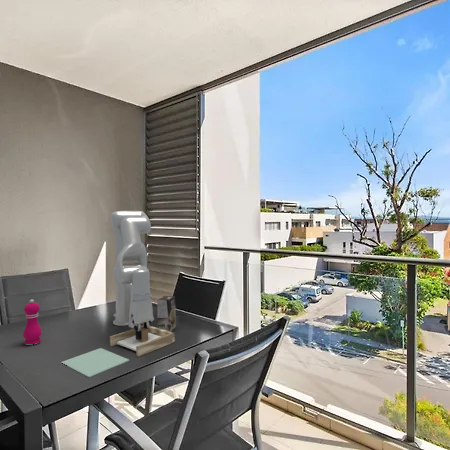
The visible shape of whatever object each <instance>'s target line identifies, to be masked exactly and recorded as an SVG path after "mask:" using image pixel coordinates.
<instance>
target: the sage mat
mask: <svg viewBox="0 0 450 450" xmlns="http://www.w3.org/2000/svg"><path fill="white" fill-rule="evenodd" d="M128 362H130V359H129V358H126V357H123V356H121V355H118V354H116V353H114V352H112V351H109V350H106V349H104V348H102V347H100V348H97V349H94V350H91V351H88V352H86V353H82V354H80V355H77V356H74V357H72V358H69V359H66V360H64V361H63V360H62V361H61V362H60V363H61V364H62V363H63V364H62V365H64V364H65V365H64V366H66V365H67V366H66V367H68V368H70V369H72V370H74V371H76V372H78V373H79V374H81V375H83V376H86V377H88V378H92V377H94V376H97V375H99V374H101V373H103V372H106V371H108V370H110V369H113V368H116V367H118V366H121V365H123V364H126V363H128Z"/></svg>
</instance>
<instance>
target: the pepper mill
mask: <svg viewBox="0 0 450 450" xmlns="http://www.w3.org/2000/svg"><path fill="white" fill-rule="evenodd" d="M23 309H24V310H23V311H24V313H25V318H26V325H25V328H24V330H23V333H22V334H23V335H22V336H23V338H24V339H25V340H24V345H25V344H35V343H38V342H40V341H41V342H42V339H41V335H42V334H43V333H42V328H41V325H40V324H39V320H38V317H39V311H40V305H39V303H37V302H35V300H34V299H29V301H28V303H27V304H26V305H25V306H24V308H23ZM41 342H40V343H41Z"/></svg>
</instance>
